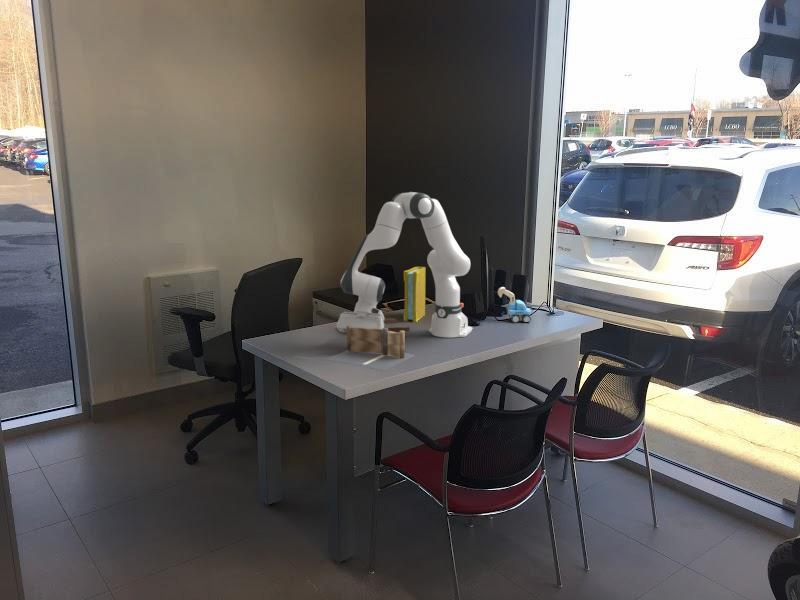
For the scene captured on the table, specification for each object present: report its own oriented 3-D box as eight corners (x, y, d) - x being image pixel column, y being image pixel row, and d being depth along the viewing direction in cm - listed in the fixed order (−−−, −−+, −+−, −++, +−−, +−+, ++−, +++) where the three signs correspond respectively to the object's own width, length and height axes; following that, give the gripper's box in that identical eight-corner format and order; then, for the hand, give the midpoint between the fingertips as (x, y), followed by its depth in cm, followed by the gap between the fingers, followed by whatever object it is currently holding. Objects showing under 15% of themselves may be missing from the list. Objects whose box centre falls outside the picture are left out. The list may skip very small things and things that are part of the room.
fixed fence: (381, 354, 270) (381, 328, 268) (384, 353, 272) (384, 327, 270) (402, 358, 265) (402, 332, 262) (405, 357, 267) (405, 330, 264)
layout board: (359, 346, 284) (359, 344, 284) (415, 356, 270) (415, 354, 270) (325, 360, 264) (325, 358, 264) (384, 371, 250) (384, 370, 250)
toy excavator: (495, 318, 334) (497, 285, 330) (529, 319, 333) (530, 285, 330) (497, 323, 325) (499, 288, 322) (531, 323, 325) (533, 289, 321)
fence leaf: (382, 352, 271) (382, 327, 269) (381, 353, 270) (381, 328, 267) (347, 349, 275) (347, 325, 273) (346, 351, 273) (345, 326, 271)
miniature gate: (413, 326, 305) (351, 327, 294) (412, 337, 306) (350, 339, 295) (393, 313, 330) (335, 313, 319) (392, 324, 331) (334, 325, 320)
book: (416, 322, 326) (416, 272, 321) (403, 320, 329) (403, 271, 323) (427, 314, 342) (427, 267, 336) (415, 313, 344) (415, 266, 339)
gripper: (339, 307, 281) (330, 335, 274) (384, 311, 275) (376, 339, 268) (343, 315, 286) (334, 342, 279) (388, 319, 280) (380, 347, 273)
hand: (355, 341), depth 274 cm, fingers closed
